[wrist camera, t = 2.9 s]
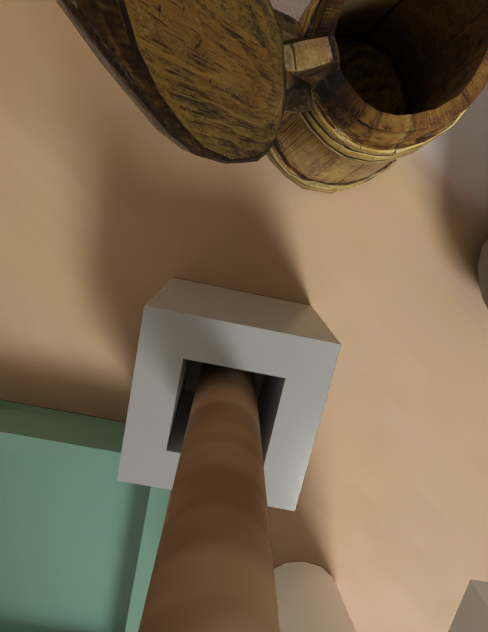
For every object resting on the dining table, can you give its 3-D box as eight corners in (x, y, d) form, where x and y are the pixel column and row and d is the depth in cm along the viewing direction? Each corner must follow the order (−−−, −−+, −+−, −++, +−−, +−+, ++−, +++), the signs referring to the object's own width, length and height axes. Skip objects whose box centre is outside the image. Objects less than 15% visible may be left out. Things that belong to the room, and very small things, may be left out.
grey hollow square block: (279, 430, 29) (294, 511, 21) (150, 406, 28) (116, 480, 21) (311, 305, 27) (341, 344, 19) (171, 277, 26) (144, 305, 18)
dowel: (247, 390, 27) (264, 717, 10) (198, 381, 27) (124, 698, 9) (258, 344, 26) (297, 607, 9) (207, 334, 26) (146, 584, 9)
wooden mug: (162, 62, 23) (-63, -382, 6) (403, 3, 23) (948, -676, 5) (200, 222, 25) (119, 248, 8) (422, 172, 25) (853, 82, 7)
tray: (140, 653, 34) (129, 703, 30) (-65, 623, 33) (-100, 671, 29) (182, 432, 29) (175, 462, 25) (-56, 389, 28) (-96, 414, 24)
